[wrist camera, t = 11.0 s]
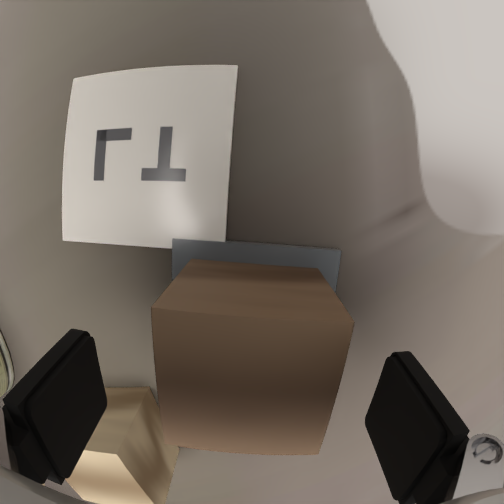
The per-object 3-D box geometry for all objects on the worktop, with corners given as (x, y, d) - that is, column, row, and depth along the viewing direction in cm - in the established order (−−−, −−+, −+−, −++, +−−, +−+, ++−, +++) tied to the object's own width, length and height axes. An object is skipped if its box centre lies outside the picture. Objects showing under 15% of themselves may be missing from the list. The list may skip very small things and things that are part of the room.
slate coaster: (175, 236, 15) (172, 238, 14) (338, 248, 15) (341, 250, 14) (177, 374, 17) (175, 379, 16) (315, 383, 17) (317, 388, 16)
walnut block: (191, 258, 15) (151, 307, 9) (317, 268, 15) (354, 322, 9) (190, 365, 16) (164, 443, 10) (301, 373, 16) (318, 454, 10)
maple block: (76, 386, 17) (34, 440, 11) (149, 386, 17) (116, 454, 11) (110, 445, 19) (83, 499, 13) (179, 448, 18) (162, 513, 12)
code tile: (77, 80, 13) (73, 78, 13) (238, 68, 13) (237, 64, 13) (66, 239, 15) (62, 240, 14) (225, 250, 15) (224, 252, 14)
